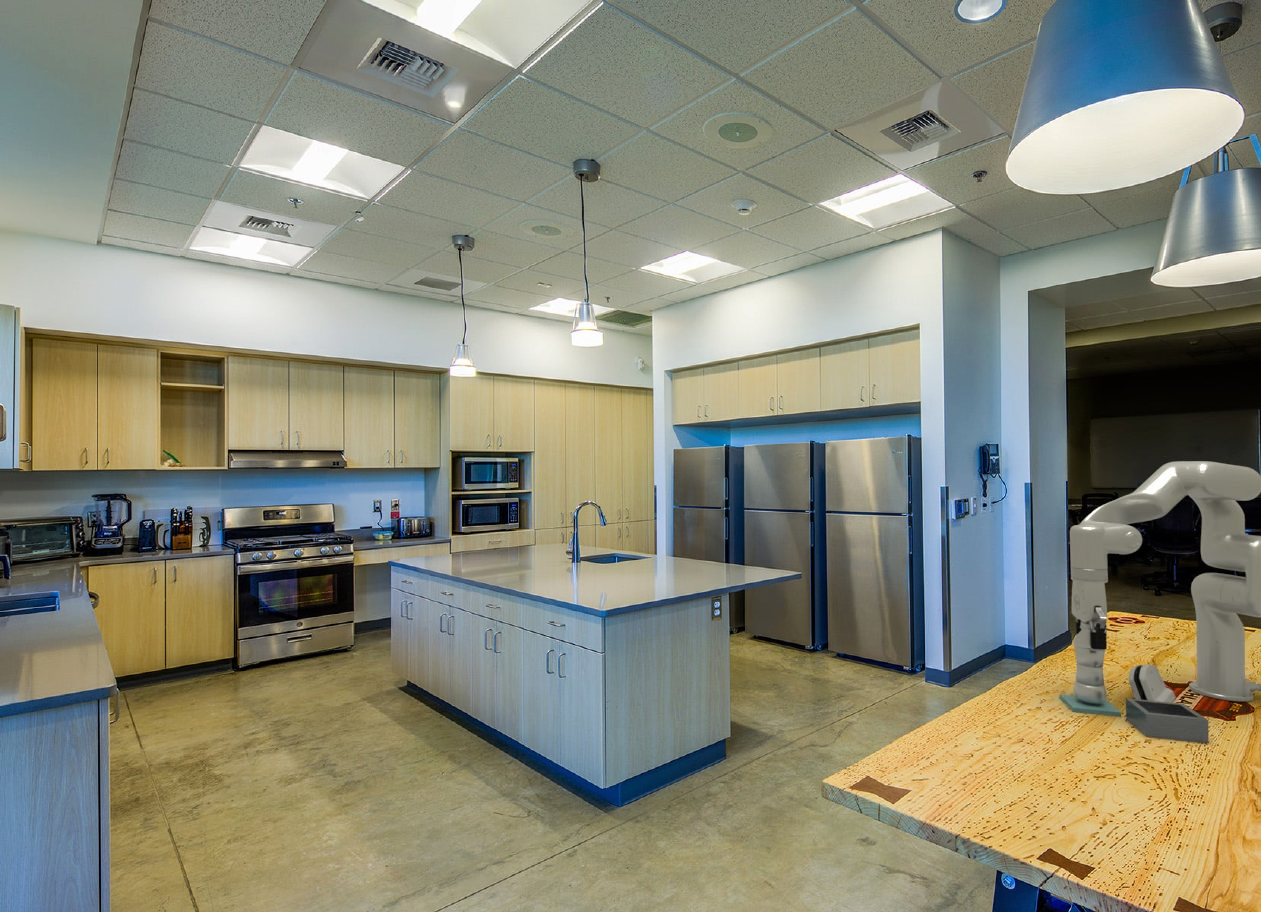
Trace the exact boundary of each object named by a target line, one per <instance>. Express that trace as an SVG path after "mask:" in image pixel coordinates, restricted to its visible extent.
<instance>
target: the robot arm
mask: <svg viewBox="0 0 1261 912" xmlns="http://www.w3.org/2000/svg"><path fill="white" fill-rule="evenodd" d="M1260 494H1261V475H1260V473H1259V472H1258V471H1256V470H1255V469H1253V468H1251V467H1248V466H1244V465H1242V466H1241V465H1234V464H1227V463H1224V462H1223V463H1221V462H1216V461H1206V460H1205V461H1203V460H1202V461H1201V460H1199V461H1198V460H1196V461H1193V460H1190V461H1186V460H1185V461H1184V460H1182V461H1170V462H1167V463H1165V464H1162V466H1160V467H1159V468H1158V469H1156V471H1155V472H1153V474H1151V476H1149V477H1148V478H1147V479H1146V480H1145V481H1144V482H1143V483H1142V484H1141V485H1140V486H1139V487H1137V488H1136V489H1135V490H1134V491H1132V492H1131V493H1129V494H1126V495H1123V496H1121V497H1119V498H1117V499H1115V500H1112V501H1108V502H1107V503H1105V504H1102V505H1101V506H1098V507H1097V508H1095V509H1094V510H1093V511H1091V513H1089V514H1088V515H1086V517H1085V518H1084V519H1083V520H1082V521H1081V522H1080V523H1079V524H1077V525H1076V524H1075V525H1073V526H1071V527H1070V530H1069V546H1070V547H1069V549H1070V551H1069V552H1070V579H1071V580H1072V586H1071V587H1072V588H1071V614H1072V616H1073V617H1074V618H1075V636H1076V635H1077V634H1078V633H1079V632H1080V631H1081V630H1082V629H1081V628H1080V626H1081V621H1083V622H1085V623H1087V621H1089V623H1090V626H1091V630H1092V632H1090V645H1091V648H1092V649H1104V650H1105V651H1106V650H1107V648H1108V647H1107V646H1108V643H1107V627H1108V625H1107V621H1108V605H1107V593H1106V586H1105V584H1106V583H1108V582H1109V577H1108V576H1109V575H1108V554H1115V555H1117V554H1119V555H1129V554H1133V553H1135V552H1136V551H1138V550H1139V549H1140V547H1141V546H1142V544H1143V537H1142V534H1141V532H1140V531H1139V530H1138V529H1137V528H1136V527H1134V526H1131V525H1129V524H1135V523H1142V522H1143V523H1144V522H1147V521H1153V520H1156V519H1160V518H1163V517H1164V516H1166V515H1167V514H1168V513H1169V512H1170V511H1171V510H1172V509H1174V507H1176V506H1177V504H1178V503H1180V502H1181V500H1183V499H1184V498H1185V497H1186V496H1189V498H1191V499H1192V500H1193V501H1194V503H1195V504H1196V505H1197V507H1198V509H1199V511H1200V514H1201V515H1200V516H1201V535H1200V555H1201V560H1202V561H1203V562H1204V564H1206V565H1207V566H1210V567H1213V568H1218V569H1222V570H1223V569H1224V570H1228V571H1236V572H1243V573H1244V572H1245V576H1238V575H1233V574H1225V573H1218V572H1204V573H1201V574H1199V575H1198V576H1195V577H1194V579H1193V581H1192V582H1191V587H1190V592H1191V596H1192V600H1193V604H1194V608H1195V619H1196V681H1192V682H1190V683H1189V684H1188V685H1189V687H1188V688H1189V690H1191V691H1192V692H1195V693H1196V694H1200V695H1202V696H1206V697H1208V698H1213V699H1217V700H1223V701H1231V702H1245V703H1246V702H1251V701H1253V700H1254V694H1253V692H1255V691H1258V692H1261V683H1257V682H1256V681H1250V680H1249V679H1246V642H1245V641H1246V640H1245V639H1246V634H1245V633H1246V631H1245V627H1244V624H1243V622H1242V620H1241V619H1240V617H1239V616H1238V614H1239V615H1245V616H1247V617H1248V616H1249V617H1254V618H1261V536H1260V535H1252V534H1250V535H1249V534H1246V526H1245V525H1246V523H1245V522H1246V519H1245V513H1244V511H1243V509H1242V507H1241V506H1240V504H1239V503H1238V502H1237V501H1242V502H1243V501H1244V502H1245V501H1251V500H1254V499H1255V498H1257V497H1258V496H1259V495H1260ZM1094 624H1096V626H1095V625H1094Z"/></svg>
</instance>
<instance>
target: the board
mask: <svg viewBox="0 0 1261 912" xmlns="http://www.w3.org/2000/svg"><path fill="white" fill-rule="evenodd" d="M1058 695H1059V699H1060V700H1061V701H1062V702H1063V703H1064V704H1065V705H1066V706H1067V708H1069V709H1070V710H1071V711H1072V712H1074V713H1080V714H1081V713H1082V714H1091V715H1092V714H1093V715H1100V716H1102V715H1103V716H1111V717H1120V718H1121V717H1122V712H1121V711H1120V710H1119V708H1117V707H1115V705H1113V704H1112V703H1111V702H1110V701H1108V700H1107V699H1106V700H1105V702H1104V703H1103V704H1090V703H1086V702H1083V701H1080V700H1078V699H1077V698H1076V696H1075V694H1074V695H1073V694H1064V693H1063V694H1062V693H1061V694H1060V693H1059V694H1058Z"/></svg>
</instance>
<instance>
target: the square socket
mask: <svg viewBox="0 0 1261 912" xmlns="http://www.w3.org/2000/svg"><path fill="white" fill-rule="evenodd" d="M1125 720H1126V721H1127V722H1128V723H1129V724H1130V725H1131V726H1133V727H1134V728H1135V729H1137V730H1138V732H1140V733H1141V734H1142V735H1143V736H1145V737H1146V738H1154V739H1162V740H1163V739H1164V740H1174V741H1181V742H1191V743H1199V744H1200V743H1202V744H1209V719H1207V718H1206V717H1204V716H1203V715H1201V714H1200V713H1198V712H1197V711H1195V710H1194V709H1192V708H1191V707H1190V706H1188V705H1186V704H1185V703H1181V702H1180V703H1179V702H1172V703H1171V702H1160V701H1150V700H1139V699H1135V698H1128V697H1127V698H1126V697H1125Z"/></svg>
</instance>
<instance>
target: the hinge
mask: <svg viewBox="0 0 1261 912" xmlns="http://www.w3.org/2000/svg"><path fill="white" fill-rule="evenodd" d="M1128 683H1129V686H1130V688H1131V692H1132V693H1133V697H1134V699H1139V700H1150V701H1160V702H1171V703H1174V701H1175V700H1176V698H1177V697H1176V695H1175V693H1174V690H1173V689H1171V688H1168V687H1167V685H1166V684H1165V682H1164V679H1163V677H1162V674H1161V673H1160V670H1159V669H1158V667H1157V666H1156V665H1154V664H1150V663H1149V664H1148V663H1146V664H1143V665H1142V664H1138V665H1134V666H1132V667H1131V668H1130V670H1129V673H1128Z"/></svg>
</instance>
